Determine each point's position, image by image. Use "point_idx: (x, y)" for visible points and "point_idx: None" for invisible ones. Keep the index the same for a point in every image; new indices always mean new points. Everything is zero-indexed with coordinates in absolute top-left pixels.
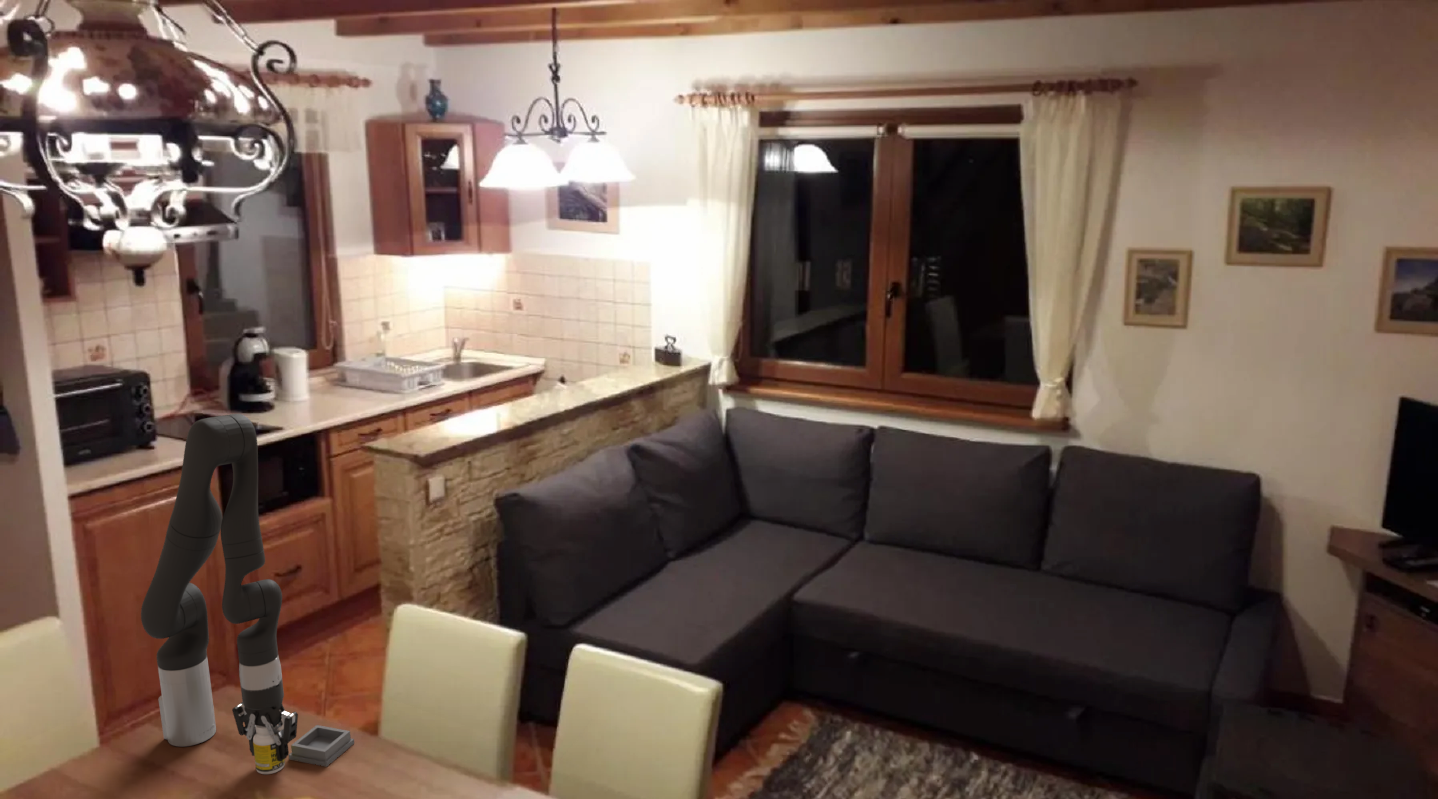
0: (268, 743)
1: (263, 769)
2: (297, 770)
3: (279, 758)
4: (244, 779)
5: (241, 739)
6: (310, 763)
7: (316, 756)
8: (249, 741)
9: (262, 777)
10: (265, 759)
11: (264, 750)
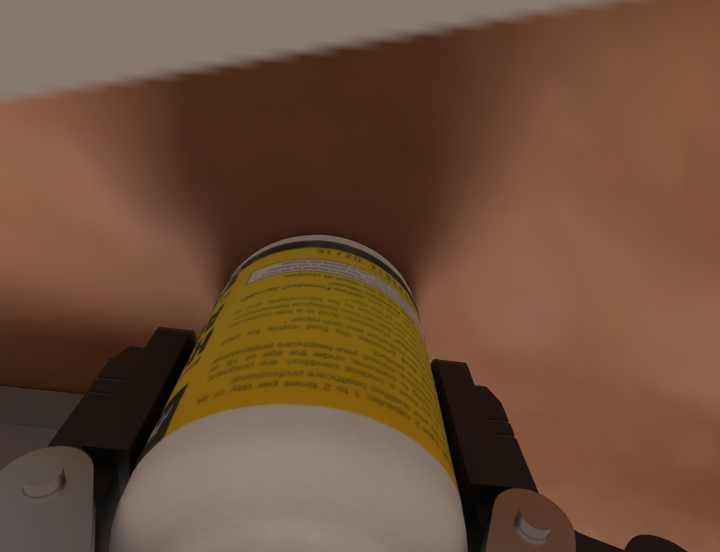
0: (170, 448)
1: (303, 248)
2: (108, 318)
3: (152, 340)
4: (433, 155)
5: (655, 523)
6: (78, 394)
7: (4, 440)
8: (523, 475)
9: (304, 202)
10: (263, 299)
11: (246, 363)
